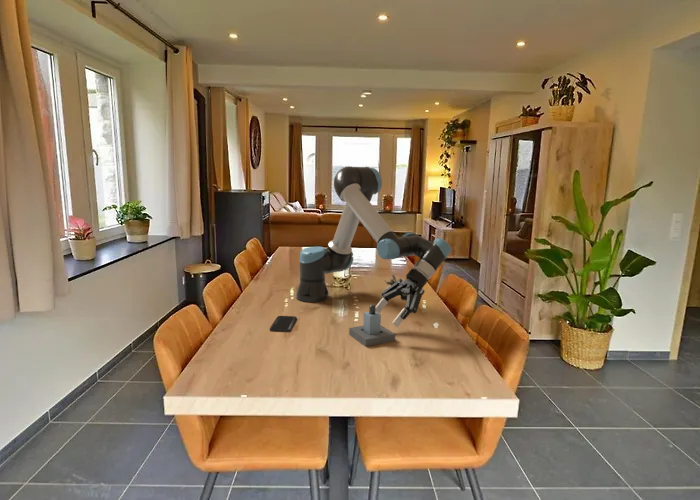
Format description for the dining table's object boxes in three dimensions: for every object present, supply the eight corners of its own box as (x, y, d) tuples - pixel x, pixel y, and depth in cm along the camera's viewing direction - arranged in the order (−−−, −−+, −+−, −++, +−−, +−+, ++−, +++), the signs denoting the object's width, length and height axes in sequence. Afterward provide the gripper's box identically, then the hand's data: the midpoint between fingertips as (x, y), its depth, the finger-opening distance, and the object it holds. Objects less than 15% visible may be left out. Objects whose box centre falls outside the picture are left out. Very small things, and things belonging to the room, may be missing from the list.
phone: (297, 316, 171) (289, 330, 156) (297, 319, 171) (289, 332, 156) (277, 315, 171) (268, 329, 156) (277, 318, 171) (268, 332, 156)
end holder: (349, 334, 155) (349, 328, 154) (377, 329, 160) (377, 323, 160) (365, 346, 144) (365, 339, 144) (394, 340, 150) (395, 333, 149)
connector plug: (363, 336, 153) (364, 304, 151) (373, 334, 155) (374, 302, 153) (369, 340, 149) (370, 308, 147) (379, 338, 151) (381, 306, 149)
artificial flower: (396, 303, 198) (390, 282, 197) (386, 295, 220) (381, 276, 219) (414, 297, 199) (408, 277, 198) (402, 290, 221) (397, 271, 220)
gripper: (447, 288, 148) (410, 336, 144) (406, 273, 170) (372, 314, 166) (436, 275, 144) (397, 324, 140) (395, 261, 166) (361, 303, 162)
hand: (384, 319), depth 153 cm, fingers open, 13 cm apart
